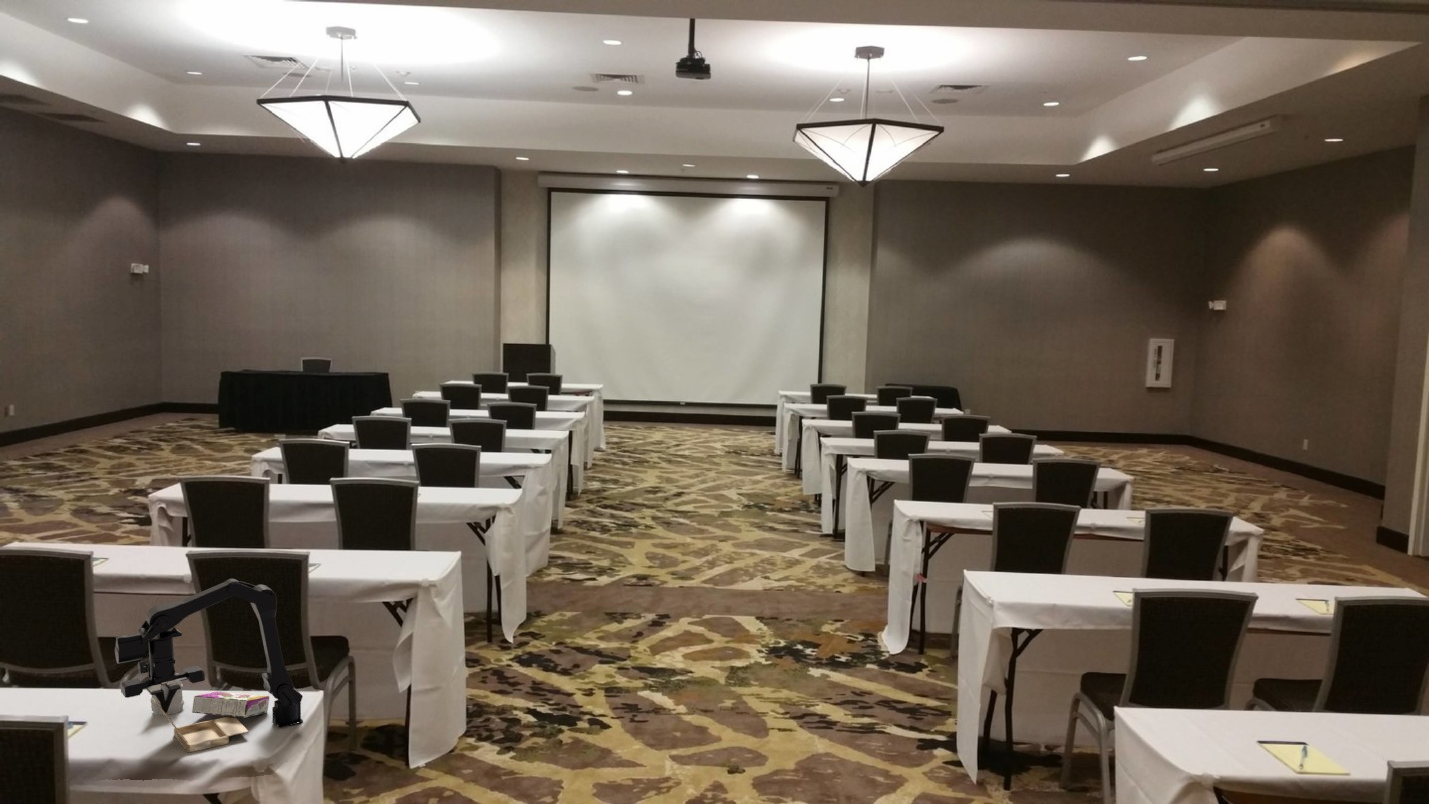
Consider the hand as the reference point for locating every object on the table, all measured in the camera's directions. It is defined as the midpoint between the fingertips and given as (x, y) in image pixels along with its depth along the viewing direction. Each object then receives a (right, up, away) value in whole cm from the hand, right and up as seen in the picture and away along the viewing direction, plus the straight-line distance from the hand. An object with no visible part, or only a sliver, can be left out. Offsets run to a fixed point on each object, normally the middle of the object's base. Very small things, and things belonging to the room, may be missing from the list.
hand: (165, 713), depth 269 cm
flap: (+3, -7, +3) cm, 8 cm away
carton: (+8, -9, +8) cm, 14 cm away
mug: (-13, -7, +24) cm, 28 cm away
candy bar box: (-1, -4, +23) cm, 24 cm away
